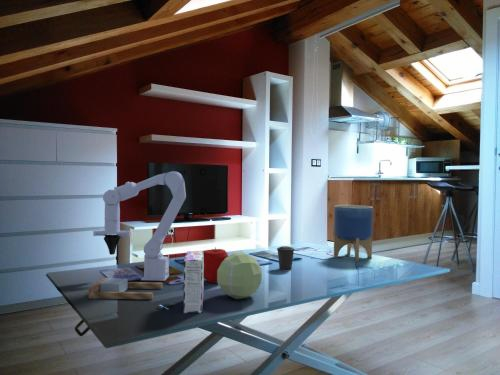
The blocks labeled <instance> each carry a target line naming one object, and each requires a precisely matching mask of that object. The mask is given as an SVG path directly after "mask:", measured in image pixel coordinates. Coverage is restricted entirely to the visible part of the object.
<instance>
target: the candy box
mask: <svg viewBox="0 0 500 375" xmlns="http://www.w3.org/2000/svg"><path fill="white" fill-rule="evenodd" d="M204 279H205V278H204V250H200V251H199V250H196V251H195V250H193V251H189V250H188V251H186V253H185V256H184V260H183V314H202V313H201V312H203V304H204V288H205V287H204V283H205V282H204V281H205V280H204Z"/></svg>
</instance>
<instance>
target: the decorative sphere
mask: <svg viewBox="0 0 500 375" xmlns="http://www.w3.org/2000/svg"><path fill="white" fill-rule="evenodd" d="M262 271H263V269H262V267H261V265H260V264H259V262H258V260H257V259H256V258H255V257H253V256H251V255H249V254H247V253H245V252H233V253H231V254H229V255H228V257H227V258H225V259H224V261H222V263H221V265H220V267H219V269H218V271H217V282H218V283H217V284H218V286H219V287H220V290H221V291H222V292H223V293H224V294H225V295H227V296H229V297H231V298H233V299H235V300H242V299H247V298H249V297H250V296H251V295H253V294H255V293H256V292H257V290H259V287H260V285H261V283H262V279H263V272H262Z"/></svg>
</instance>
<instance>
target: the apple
mask: <svg viewBox="0 0 500 375" xmlns="http://www.w3.org/2000/svg"><path fill="white" fill-rule="evenodd" d="M203 252H204V279H205V280H206V281H207V282H208V283H211V284H218V282H217V271H218V269H219V267H220V265H221V263H222V261H224V259H225V258H227V257H228V256H229V254H228V253H227V251H226V250H225V249H222V248H217V247H214V249H207V250H203Z"/></svg>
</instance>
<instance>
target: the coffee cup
mask: <svg viewBox="0 0 500 375" xmlns="http://www.w3.org/2000/svg"><path fill="white" fill-rule="evenodd" d="M276 250H277V258H278V267H279V270H281V271H291V270H292V268H293V267H292V266H293V260H294V251H295V248H294V247H292V246H285V245H284V246H282V245H281V246H279V247H277V248H276Z"/></svg>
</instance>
